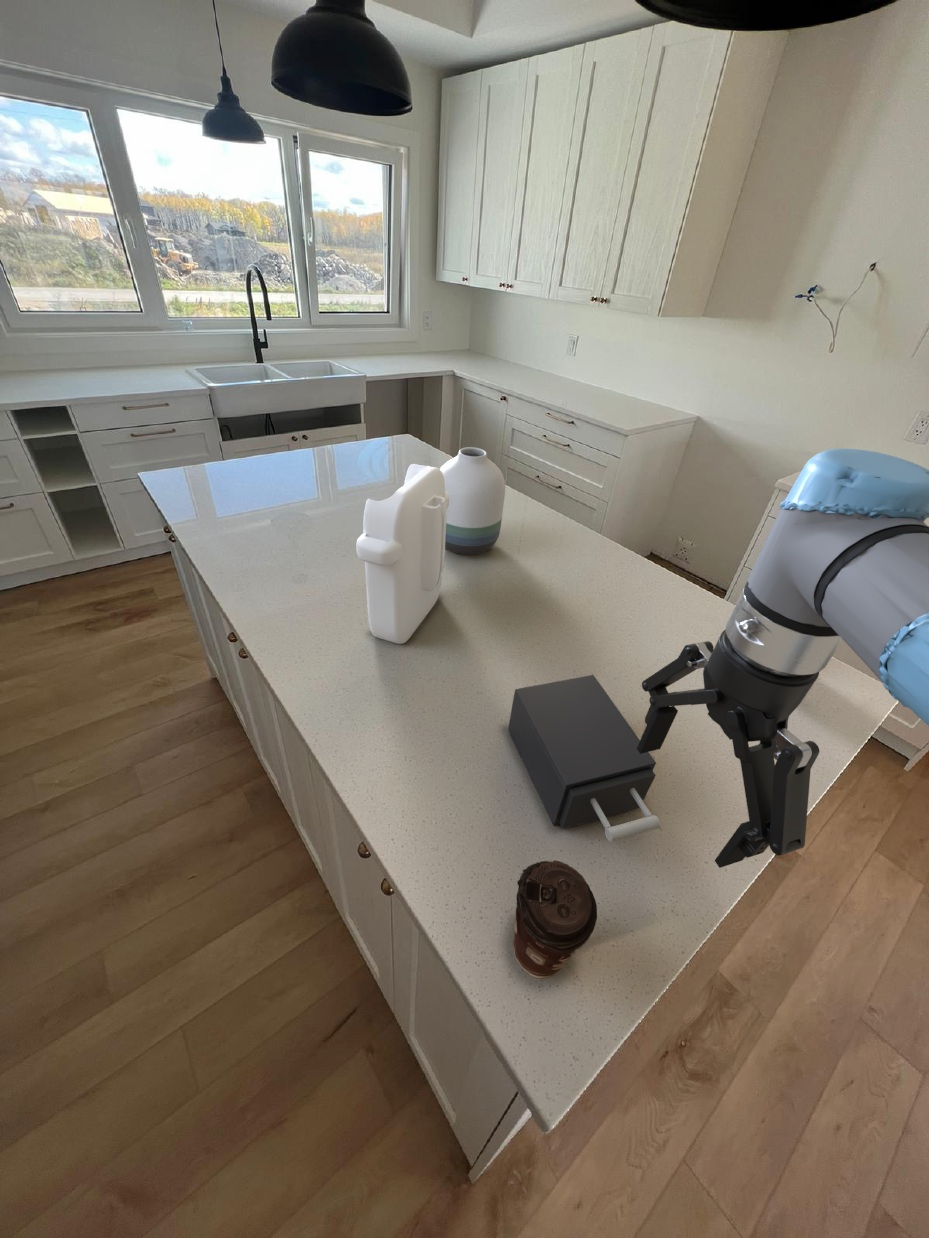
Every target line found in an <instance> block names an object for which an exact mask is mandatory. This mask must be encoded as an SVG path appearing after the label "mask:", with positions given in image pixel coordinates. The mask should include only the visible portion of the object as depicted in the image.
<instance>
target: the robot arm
mask: <svg viewBox="0 0 929 1238" xmlns="http://www.w3.org/2000/svg"><path fill="white" fill-rule="evenodd" d="M928 518H929V469H927V468H926V467H923V466H922V465H920V464H919V463H915V462H913V461H910V460H907V459H904V458H902V457H898V456H894V455H891V454H886V453H883V452H878V451H872V450H867V449H857V448H834V449H827V450H823V451H821V452H818V453H816V454H815V455H813V456H812V457H811V458H810V459H808V460H807V462H805V464H804V466H803V467H802V469H801V471H800V473H799V475H798V476H797V478H796V480H795V482H794V484H793V485H792V487H791V489H790V491H789V493H787V496H786V497H785V499H784V500H783V501H781V502H780V505H779V511H778V513H777V515H776V517H775V520H774V522H773V524H772V526H771V528H770V530H769V533H768V535H767V537H766V539H765V542H764V544H763V546H762V548H761V550H760V552H759V554H758V556H757V559H756V561H755V563H754V564H753V566H752V569H751V571H750V573H749V576H748V577H747V581H746V583H745V585H744V587H743V589H742V591H741V593H740V595H739V597H738V599H737V601H736V603H735V605H734V607H733V609H732V611H731V613H730V616H729V617H728V620H727V622H726V625H725V628H724V630H723V631H722V632H721V633H720V636H719V637H718V639H717V641H716V644H715V646H714V645H713V642H711V641H709V640H705V641H699V642H694V643H690V644H686V645H684V646H683V648H682V650H681V651H680V653H679V655H678V657H677V658H676V659H674V660H673V661H671V662H669V663H668V664H667V665H665V666H664V667H662V668H661V669H659V670H658V671H656V672H655V673H653V674H652V675H650V676H648V677H647V678H646V679H644V680H642V681H641V687H642V690H643V691H644V692H645V693H646V692H648V694H649V696H650V697H649V704H650V705H649V707H648V710H647V712H646V714H645V717H644V723H645V724H646V726H645V727H644V730H643V733H642V735H641V737H640V742H639V744H638V747H637V750H638V751H639V753H640V754H642V753H646V752H649V753H650V752H653V751H654V752H655V751H658V750H661V748H662V746H663V744H664V742H665V740H666V738H667V735H668V733H669V732H670V729H671V727H672V725H673V723H674V721H675V719H676V717H677V714H678V712H679V709H677V708H676V707H677V706H688V705H690V706H696V705H705V706H706V709H707V711H708V712H707V716H709V718H710V719H711V720H712V721H713V722H715V724H717V725H718V726H719V727H720V729H721V730H722V732H723V734H724V735H725V736H726V737H727V738H728V739H729V740H730V741H731V740H732V741H731V742H732V746H733V747H732V748H733V753H734V757H735V758H736V759H738V760H739V762H740V769H741V775H742V782H743V788H744V795H745V800H746V809H747V815H748V821H745V822H742V823H741V822H740V825H739V826H738V827H737V828H736V830H735V832H733V834H732V835H731V837H730V838H729V839H728V841H727V842H726V843H725V845H724V846H723V848H722V849H721V851H720V852H719V854H718V855H717V856H716V858H715V859H714V862H715V864H716V865H717V866H718V868H719V869H721V868H724V867H727V866H730V865H733V864H736V863H739V862H742V861H743V860H744V859H745V858H752V857H754V856H758V855H762V854H764V853H765V851H766V850H767V849H768V847H769V848H770V850H771V852H772V853H773V854H774V855H776V856H783V855H786V854H789V853H793V852H795V851H798V850H800V849H803V848H805V845H806V835H807V834H806V833H807V822H808V809H809V808H808V807H809V796H810V783H811V770H812V768H813V766H814V764H815V762H816V760H817V758H818V756H819V754H820V747H819V745H818V744H817V743H816V742H815V741H813V740H806V741H804V742H803V741H801V740H800V739H799V738H798V737H797V736H796V735H794V734H793V733H792V732H791V731H789V729H788V728H789V724H788V723H789V718H790V716H791V715H792V713H793V712H795V711H796V709H797V708H798V707H799V706H800V705H801V703H802V702H803V700H804V699H805V697H806V696H807V694H808V693H809V691H810V690H811V688H812V687H813V685H814V684H815V682H816V681H817V680H818V678H819V676H820V672H822V671H823V670H824V669H825V668H826V667H827V665H828V663H829V662H830V660H831V659H832V657H833V656H834V654H835V653H836V651H837V649H838V648H839V647H840V645H841V643H842V642H843V641H844V643H845V644H846V645H847V646H848V647H849V648H850V649H851V650H852V651H853V652H854V653H855V654H856V656H857V657H858V658H860V660H861V661H862V662H863V663H864V664H865V665H866V666H867V668H869V670H870V671H871V672H872V674H874V675H875V677H877V679H878V680H879V681H880V682H881V683H882V685H883V687H884V689H885V690H887V691H888V693H889V695H890V696H891V697H892V698H893V699H894V700H897V702H899V704H901V706H902V707H905V708H908V709H910V710H911V712H913V713H914V714H915V715H916V716H917V717H918V718H919V719H920V720H921V721H922V722H924V723H925V724H926V725H927V726H928V727H929V525H927V523H925V521H926V520H927V519H928ZM699 669H703V670H702V677H703V686H704V688H697V689H689V690H680V691H673V692H669V691H668V689H667V688H668V687H669V686H671V685H673V684H674V683H676V682H678V681H680V680H681V679H683V678H685V677H687V676H688V675H690V674H691V673H693V672H695V671H696V670H699ZM751 742H759V743H758V744H755V745H752V746H750V745H749V743H751ZM775 760H776V761H775Z"/></svg>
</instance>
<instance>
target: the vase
mask: <svg viewBox="0 0 929 1238" xmlns="http://www.w3.org/2000/svg"><path fill="white" fill-rule="evenodd" d="M439 469H440V470H441V471H442V473H443V476H444V480H445V490H446V491H447V492H448V494H449V506H448V509H447V510H446V511H447V517H446V538H445V550H447V551H450V552H452V553H455V554H459V555H478V554H482V553H484V552H488V551H489V550H491V548H493V547H494V546H495V544H496V543H497V541H498V540H499V536H500V533H501V527H502V521H503V520H502V519H503V513H504V504H505V496H506V481H505V476H504V474H503V472H502V471H501V469H500V468H499V467H498V466H497V465H496V464H495V462H493V461H492V460H490V459H489V458H488V453H487V451H486V450H485V449H482V448H479V447H473V446H470V447H469V446H467V447H462V448H460V449H459V451H458V453H457V455H456V456H454V457H453V458H450V459H449V460H448V461H446V462H445V463H444V464H443V465H442V466H441V467H440V468H439Z"/></svg>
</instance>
